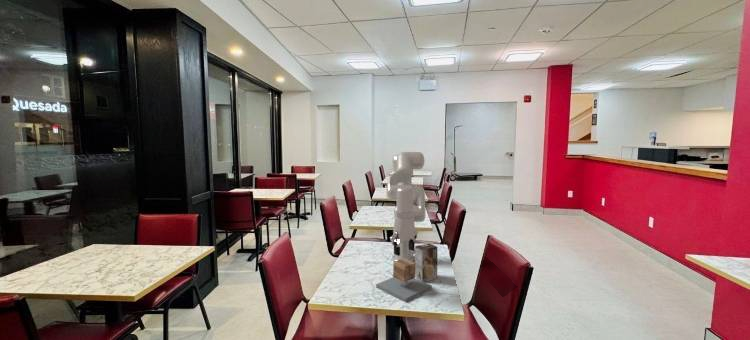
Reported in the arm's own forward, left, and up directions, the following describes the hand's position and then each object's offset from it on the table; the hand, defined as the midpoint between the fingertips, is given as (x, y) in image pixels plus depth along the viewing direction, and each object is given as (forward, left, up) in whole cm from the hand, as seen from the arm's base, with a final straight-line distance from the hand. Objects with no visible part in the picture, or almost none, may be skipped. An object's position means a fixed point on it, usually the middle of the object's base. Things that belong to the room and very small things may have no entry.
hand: (404, 252), depth 140 cm
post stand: (0, 0, -17) cm, 17 cm away
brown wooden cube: (0, 0, -12) cm, 12 cm away
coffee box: (-16, 0, -17) cm, 23 cm away
